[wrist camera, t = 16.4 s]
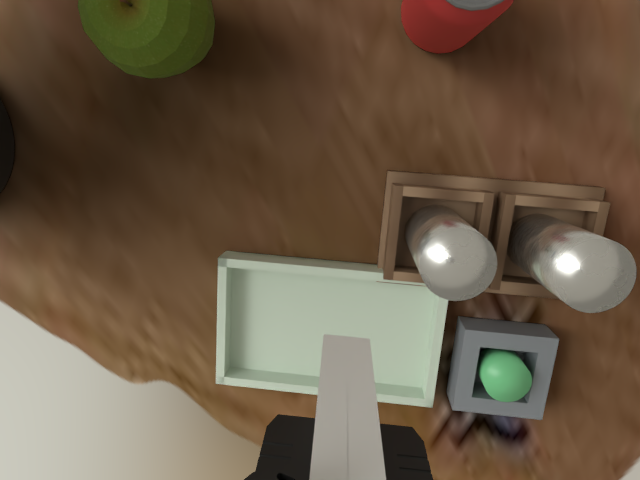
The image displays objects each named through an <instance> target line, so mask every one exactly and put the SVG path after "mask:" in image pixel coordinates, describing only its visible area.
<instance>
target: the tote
mask: <svg viewBox="0 0 640 480" xmlns="http://www.w3.org/2000/svg"><path fill="white" fill-rule="evenodd" d="M376 281H380V282H376ZM383 282H390V283H383ZM393 283H401V284H393ZM404 284H412V285H404ZM415 285H422V286H415ZM425 286H426V285H425V283H416V282H406V281H395V280H384V279H383V269H380V268H378V267H377V264H366V263H355V262H344V261H334V260H323V259H312V258H301V257H290V256H279V255H268V254H257V253H246V252H235V251H225V252H224V253H223V254H222V255H221V256H219V257H218V289H217V346H216V384H224V385H233V386H242V387H251V388H260V389H269V390H278V391H287V392H296V393H305V394H314V395H318V387H319V377H320V366H321V356H322V346H323V336H324V334H327V335H337V336H348V337H358V338H368V339H370V346H371V354H372V363H373V371H374V380H375V388H376V397H377V402H386V403H395V404H404V405H413V406H422V407H431V408H432V407H433V401H434V394H435V387H436V380H437V373H438V367H439V360H440V353H441V346H442V339H443V333H444V326H445V319H446V312H447V306H448V300H446V299H443V298H441V297H439V296H437V295H435V294H434V293H432V292H431V291H430V290H429V289H428V288H427V287H425Z"/></svg>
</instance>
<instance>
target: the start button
mask: <svg viewBox="0 0 640 480" xmlns="http://www.w3.org/2000/svg"><path fill="white" fill-rule="evenodd" d="M476 370H477V373H478V375H479V377H480V379H481V381H482V383H483V385H484V387H485V389H486V391H487V393H488V394H489V395H490V396H491V397H492V398H494V399H495V400H498V401H501V402H513V401H517V400H519V399H521V398H522V397H524V396H525V395H526V394H527V393H528V391H529V390H530V388H531V385H532V377H531V373H530V371H529V370H528V369H527V367H526V366H525V364H524V363H523V362H522V360H521V359H520V357H519V356H518V355H517V353H516V352H515V351H514V350H504V349H494V348H485V349H484V350H483V351H482V352H481V353H480V354H479V357H478V362H477V368H476Z"/></svg>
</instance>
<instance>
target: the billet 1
mask: <svg viewBox="0 0 640 480" xmlns="http://www.w3.org/2000/svg"><path fill="white" fill-rule="evenodd" d="M405 240H406V243H407V245H408V248H409V250H410V252H411V254H412V257H413V259H414V261H415V264H416V266H417V268H418V270H419V273H420V275H421V277H422V280H423V281H424V283H425V285H426V286H427V288H428V289H429V290H430V291H431V292H432V293H434V294H435V295H437V296H439V297H441V298H443V299H446V300H451V301H463V300H468V299H471V298H473V297H475V296H477V295H479V294H480V293H482V292H483V291H484V290H485V289H486V288H487V287H488V286H489V285H490V284H491V282H492V280H493V279H494V276H495V274H496V270H497V256H496V252H495V250H494V248H493V246H492V244H491V243H490V241H489V240H488V239H487V238H486V237H484V236H483V235H482V234H481V233H480V232H478V231H477V230H476V229H475V228H473V227H472V226H471V225H470V224H469V223H467V222H466V221H465V220H464V219H462V218H461V217H460V216H459V215H458V214H456V213H455V212H454V211H453V210H451V209H450V208H448V207H446V206H443V205H437V204H433V205H427V206H424V207H422V208H420V209H418V210H417V211H415V212H414V213H413V214H412V215H411V216H410V218H409V220H408V221H407V224H406V227H405Z"/></svg>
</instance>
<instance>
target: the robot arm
mask: <svg viewBox="0 0 640 480" xmlns="http://www.w3.org/2000/svg"><path fill="white" fill-rule="evenodd" d="M13 161H14V136H13V131H12V126H11V123H10V119H9V116H8V114H7V111H6V109H5V107H4V105H3V103H2V101H1V99H0V193H1V191H2V190H3V188H4V187H5V185H6V183H7V181H8V179H9V177H10V174H11V171H12V167H13ZM244 480H433V478H432V474H431V470H430V466H429V461H428V460H427V453H426V449H425V445H424V441H423V440H422V439H421V438H420V436H419V435H418V434H417V433H416V431H415V430H414V429H413V428H412V427H406V426H397V425H387V424H380V423H379V414H378V406H377V397H376V388H375V380H374V371H373V363H372V354H371V346H370V339H368V338H358V337H348V336H337V335H327V334H324V336H323V346H322V356H321V366H320V377H319V387H318V397H317V407H316V417H315V418H307V417H298V416H288V415H279V414H278V415H277V416H276V417H275V418H274V419H273V420H272V422H271V423H270V424H269V425H268V426H267V428H266V432H265V436H264V440H263V444H262V448H261V452H260V457H259V459H258V463H257V467H256V471H255V472H253V473H252V474H251V475H249V476H248V477H247V478H245V479H244Z"/></svg>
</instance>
